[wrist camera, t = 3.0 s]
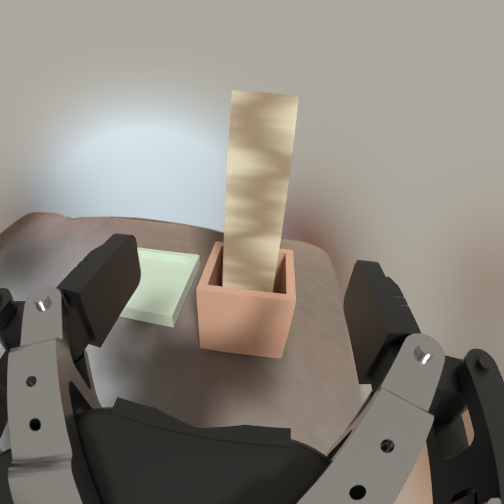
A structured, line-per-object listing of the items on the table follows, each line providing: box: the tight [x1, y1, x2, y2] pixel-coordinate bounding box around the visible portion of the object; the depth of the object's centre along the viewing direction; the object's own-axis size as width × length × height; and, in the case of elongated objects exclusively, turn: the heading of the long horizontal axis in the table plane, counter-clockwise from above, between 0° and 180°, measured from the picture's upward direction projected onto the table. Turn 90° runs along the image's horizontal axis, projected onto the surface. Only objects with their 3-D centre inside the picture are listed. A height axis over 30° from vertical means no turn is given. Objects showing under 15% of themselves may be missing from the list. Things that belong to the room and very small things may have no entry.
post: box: [223, 91, 299, 293], centre depth 22 cm, size 4×4×20 cm
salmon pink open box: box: [196, 241, 296, 359], centre depth 25 cm, size 7×7×7 cm
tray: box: [120, 247, 200, 328], centre depth 30 cm, size 14×11×2 cm
